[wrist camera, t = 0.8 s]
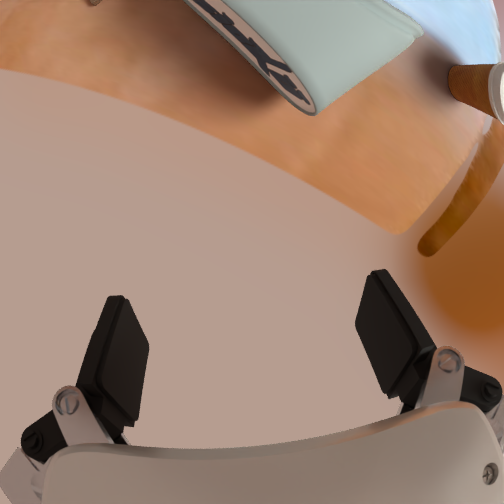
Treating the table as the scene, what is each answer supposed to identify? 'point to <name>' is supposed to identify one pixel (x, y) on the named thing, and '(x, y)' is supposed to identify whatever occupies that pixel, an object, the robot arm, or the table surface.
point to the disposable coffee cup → (479, 87)
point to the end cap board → (95, 1)
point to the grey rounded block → (312, 42)
